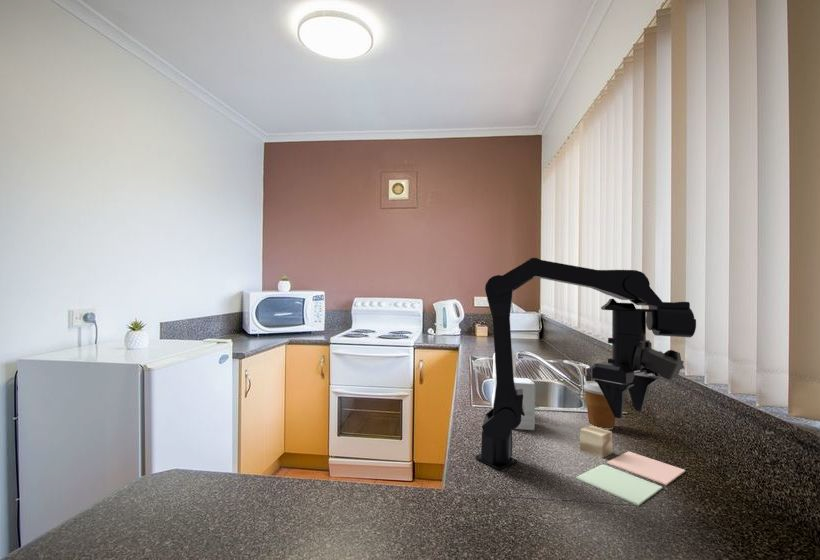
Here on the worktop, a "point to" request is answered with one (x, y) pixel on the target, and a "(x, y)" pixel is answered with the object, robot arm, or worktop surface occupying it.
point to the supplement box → (527, 403)
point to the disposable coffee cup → (598, 406)
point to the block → (596, 441)
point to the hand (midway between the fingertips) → (628, 414)
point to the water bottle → (495, 374)
